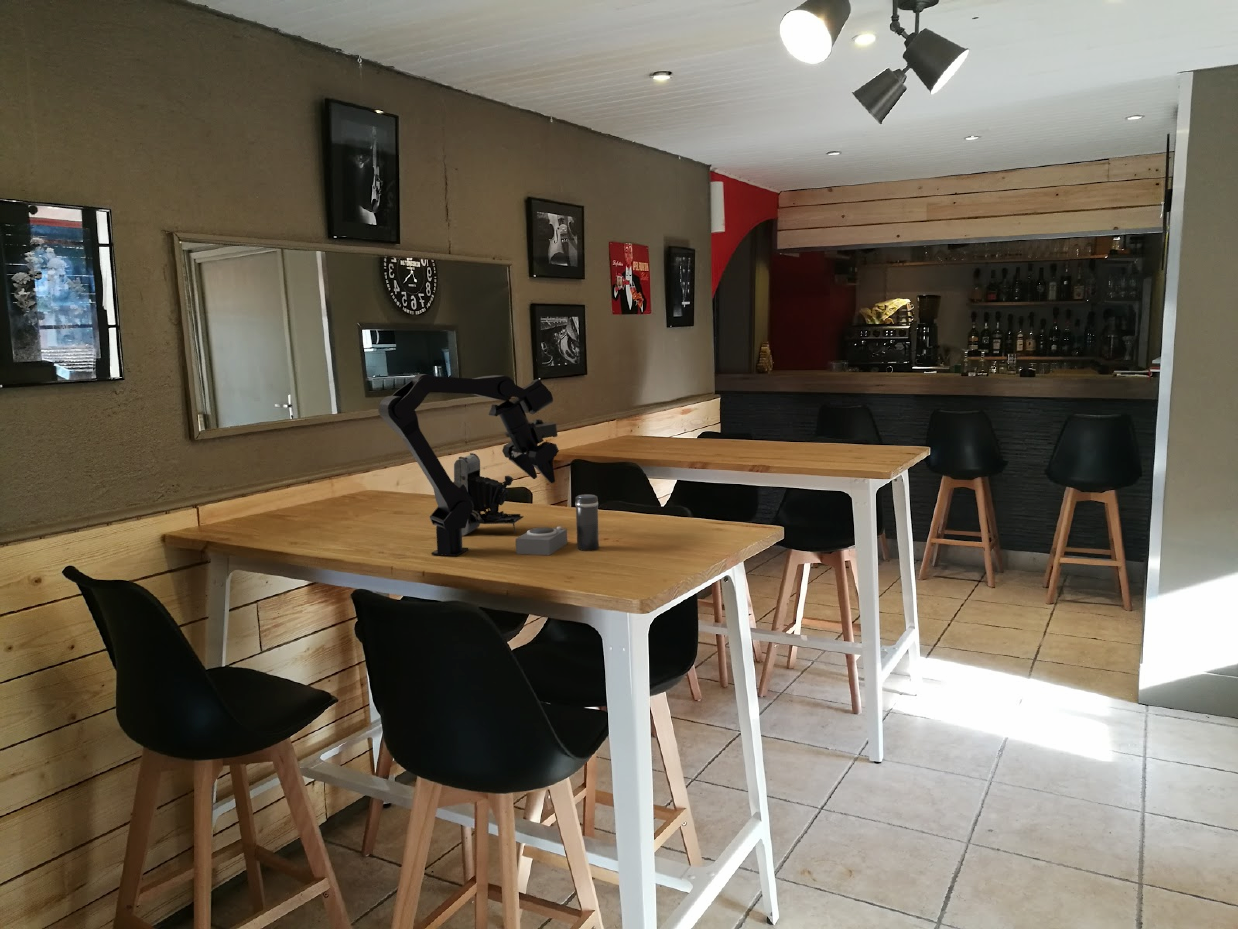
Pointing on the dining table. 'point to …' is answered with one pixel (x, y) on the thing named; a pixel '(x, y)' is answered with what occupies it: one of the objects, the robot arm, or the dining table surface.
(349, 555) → the dining table surface
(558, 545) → the grey rectangular block
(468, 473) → the vintage camera
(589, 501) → the dark grey cylinder
